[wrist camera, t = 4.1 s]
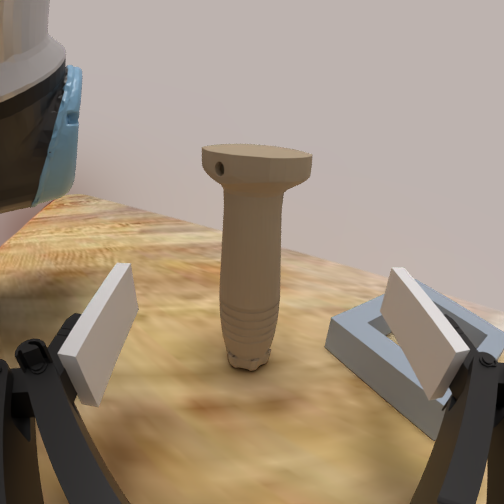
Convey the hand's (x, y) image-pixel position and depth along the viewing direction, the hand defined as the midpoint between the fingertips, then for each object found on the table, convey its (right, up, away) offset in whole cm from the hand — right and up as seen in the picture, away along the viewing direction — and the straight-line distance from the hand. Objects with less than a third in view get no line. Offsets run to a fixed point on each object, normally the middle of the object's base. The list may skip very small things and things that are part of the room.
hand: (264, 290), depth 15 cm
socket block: (+13, -7, +7) cm, 17 cm away
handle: (-1, -6, +8) cm, 10 cm away
